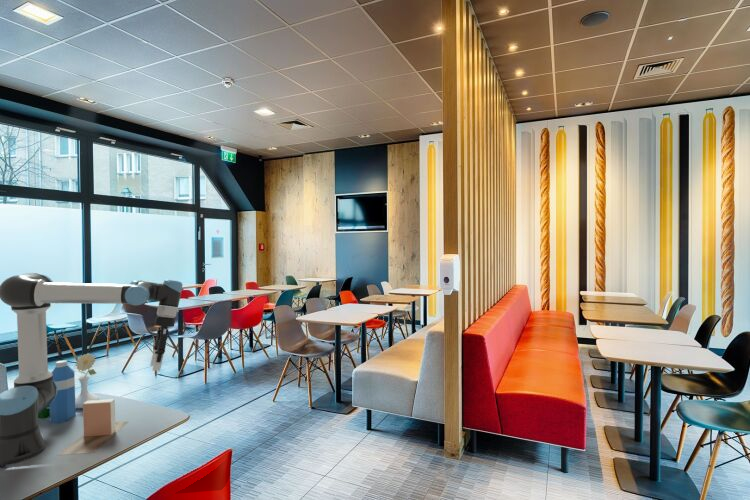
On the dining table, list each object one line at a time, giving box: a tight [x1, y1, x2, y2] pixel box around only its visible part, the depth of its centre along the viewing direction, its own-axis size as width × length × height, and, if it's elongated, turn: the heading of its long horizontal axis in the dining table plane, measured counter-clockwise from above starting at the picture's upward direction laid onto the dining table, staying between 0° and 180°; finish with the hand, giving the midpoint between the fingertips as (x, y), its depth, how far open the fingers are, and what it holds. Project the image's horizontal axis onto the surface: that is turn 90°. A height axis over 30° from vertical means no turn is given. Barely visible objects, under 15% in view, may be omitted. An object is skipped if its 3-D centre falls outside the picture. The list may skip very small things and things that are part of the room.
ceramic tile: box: [82, 398, 116, 437], centre depth 158 cm, size 3×10×13 cm, turn 99°
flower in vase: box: [75, 353, 100, 410], centre depth 187 cm, size 13×11×25 cm
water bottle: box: [49, 359, 77, 424], centre depth 174 cm, size 9×9×25 cm
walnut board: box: [58, 421, 129, 456], centre depth 156 cm, size 12×25×1 cm, turn 7°
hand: (154, 368), depth 166 cm, fingers open, 13 cm apart
